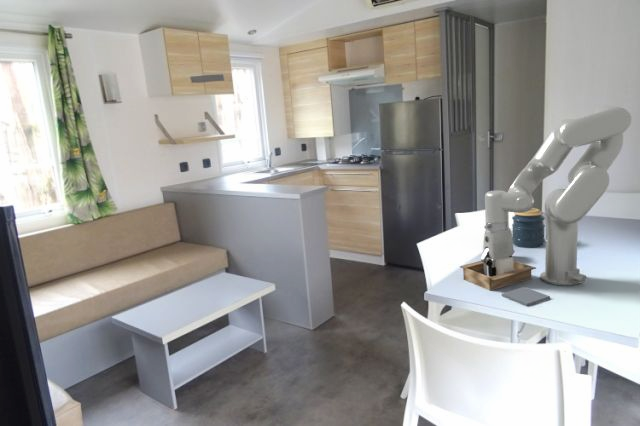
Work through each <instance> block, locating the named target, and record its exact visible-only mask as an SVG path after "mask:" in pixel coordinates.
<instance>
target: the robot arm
mask: <svg viewBox="0 0 640 426" xmlns="http://www.w3.org/2000/svg"><path fill="white" fill-rule="evenodd" d="M631 124H632V115H631V113H630V112H629V111H628V109H626V108H625V107H622V106H603V107H599V108H597V109H595V111H593V113H592V114H589V115H587V116H586V115H585V116H583V117H578V118H567V119H566V118H565V119H561V120H560V121H559V122H557V123H556V124H555V125H554V127H553V128H552V129H551V130H550V132H549V134H548V135H547V137H546V138H545V140H544V141H543V143H542V144H541V146H540V147H539V148H538V150H537V152H535V155H533V157H532V159H531V160H529V162H528V163H527V165H526V166H525V167H524V168H523V169H522V170H521V171H520V172H519V174H518V175H517V176H516V178H515V179H514V180H513V182H512V184H511V186H509V188H508V190H507V191H505V190H501V189H500V190H498V189H497V190H496V189H495V190H489V191H487V192H486V193H485V194H484V210H485V215H484V217H485V225H484V229H485V230H484V234H483V235H484V236H483V247H482V248H483V254H482V256H481V258H480V261H483V262H484V263H485V264H486V265H487V266H488V275H489V276H490V277H492V276H496V267H495V262H496V260H498V259H502V258H505V257H511V258H513V257H512V256H513V255H514V254H515V249H514V244H513V238H512V237H513V232H512V230H511V229H512V228H510V223H509V222H510V221H509V213H514V212H517V213H524V212H527V211H529V210H531V209H532V208H534V204H535V199H534V197H533V195H532V194H533V193H534V191H535V190H536V188H537V187H538V186H539V185H540V184H541V182H543V180H545V179H546V178H547V177H550V176H551V175H553V174H554V173H556V172H557V171H558V170H559V169H560V167H561V166H562V165H563V163H564V161H565V160H566V159H567V157H569V154H570V153H571V152H572V150H573V149H574V148H579V147H582V146H586V145H589V146H588V148H587V149H586V151H585V152H584V153H583V154H582V156H581V157H580V158H579V160H578V161H577V162H576V163H575V164H574V166H572V168H571V169H570V171H569V172H568V175H567V182H568V183H569V185H568V186H567V187H566V188H557V189H554V190H552V191H550V193H548V195H547V196H546V198H545V201H544V214H545V215H544V217H545V257H544V259H545V260H544V261H545V263H544V264H545V266H544V267H545V269H544V271H543V272H541V273H540V277H539V278H540V280H541V281H543V282H544V283H548V284H551V285H556V286H564V287H565V286H574V285H575V286H576V285H578V284H580V283H582V284H583V283H585V281H586V279H587V274H584V273H583V274H582V273H581V272H580V268H577V266H578V263H577V262H578V238H579V237H578V233H579V230H578V229H579V228H578V227H579V225H578V224H579V223H578V222H579V221H581V220H583V218H585V216H586V215H587V214H588V213H589V212H590V211H591V210H592V208H593V207H594V206H595V205H596V204H597V202H598V201H599V200H600V199H601V198H602V196H603V195H604V194H605V192H606V191H607V189H608V187H609V185H610V182H611V181H610V179H611V178H610V174H609V172H608V170H609V169H610V167H611V166H612V165H613V163H614V162H615V160H616V159H617V158H618V156H619V155H620V153H621V151H622V149H623V145H624V133H625V132H626V131H627V130H628V129H629V128H630V126H631ZM487 258H488V259H487ZM491 260H492V263H491Z"/></svg>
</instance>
